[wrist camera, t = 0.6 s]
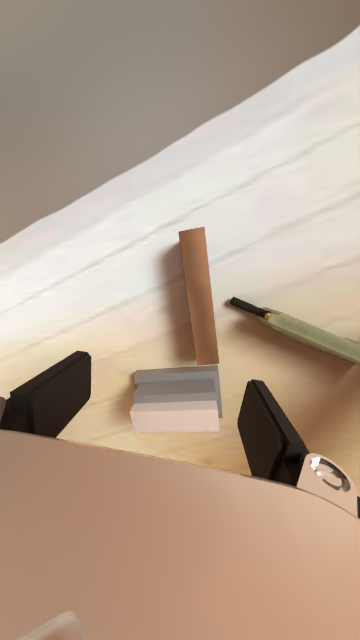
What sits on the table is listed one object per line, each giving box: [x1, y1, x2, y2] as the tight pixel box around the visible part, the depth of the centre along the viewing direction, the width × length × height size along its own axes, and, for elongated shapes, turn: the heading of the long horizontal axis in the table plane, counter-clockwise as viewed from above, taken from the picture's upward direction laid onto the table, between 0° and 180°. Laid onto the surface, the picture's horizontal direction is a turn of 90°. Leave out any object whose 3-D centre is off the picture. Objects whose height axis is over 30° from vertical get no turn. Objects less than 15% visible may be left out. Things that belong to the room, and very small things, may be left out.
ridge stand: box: [129, 365, 222, 433], centre depth 32 cm, size 16×10×8 cm, turn 97°
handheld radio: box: [230, 297, 360, 365], centre depth 27 cm, size 7×3×25 cm
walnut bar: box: [179, 227, 219, 365], centre depth 28 cm, size 4×20×6 cm, turn 8°
